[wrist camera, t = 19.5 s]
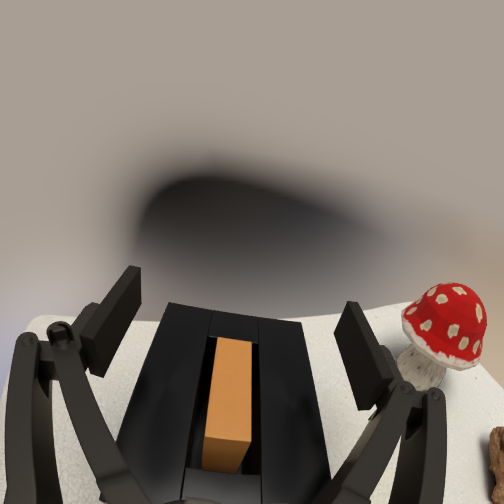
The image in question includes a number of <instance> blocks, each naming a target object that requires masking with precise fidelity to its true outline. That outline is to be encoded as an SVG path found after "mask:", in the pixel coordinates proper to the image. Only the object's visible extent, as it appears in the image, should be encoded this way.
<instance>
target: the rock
mask: <svg viewBox="0 0 504 504" xmlns="http://www.w3.org/2000/svg"><path fill="white" fill-rule="evenodd" d="M489 450H490V459H491V461H490V467H489V469H490V472H491V473H492V474H494V475H495V477H496V483H497V485H496V486H495V487H494V490H493V493H492V496H491V499H492V500H493V502H494V503H495V504H504V427H496V428H493V430H492V432H491V434H490V441H489Z"/></svg>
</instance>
